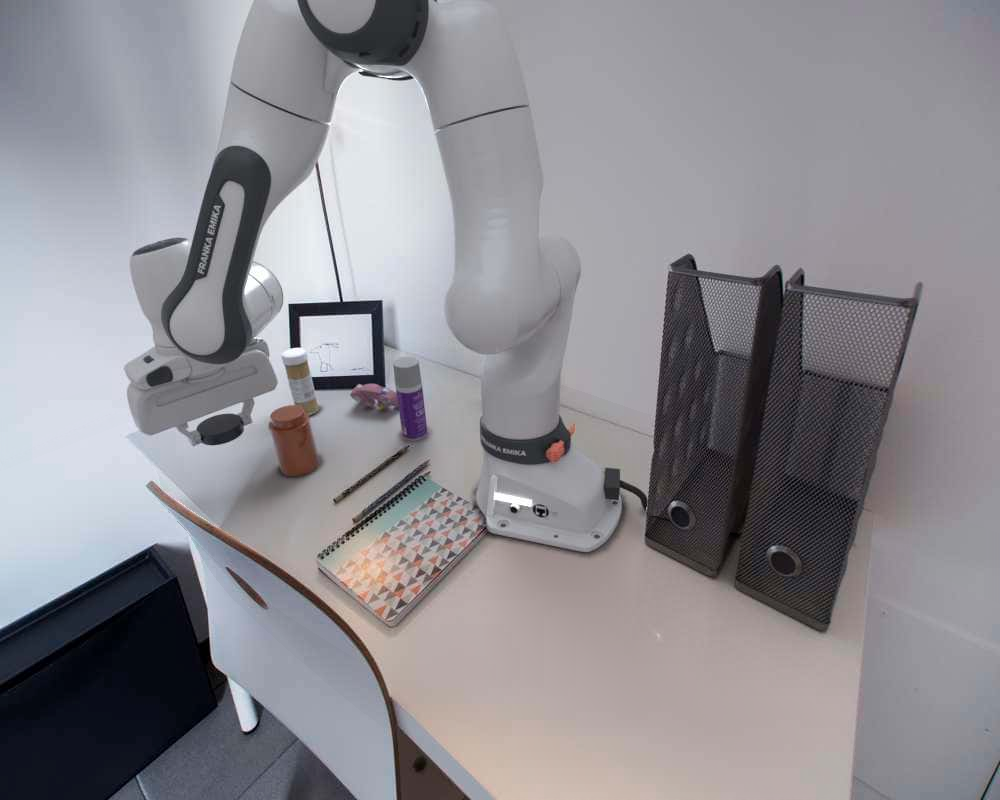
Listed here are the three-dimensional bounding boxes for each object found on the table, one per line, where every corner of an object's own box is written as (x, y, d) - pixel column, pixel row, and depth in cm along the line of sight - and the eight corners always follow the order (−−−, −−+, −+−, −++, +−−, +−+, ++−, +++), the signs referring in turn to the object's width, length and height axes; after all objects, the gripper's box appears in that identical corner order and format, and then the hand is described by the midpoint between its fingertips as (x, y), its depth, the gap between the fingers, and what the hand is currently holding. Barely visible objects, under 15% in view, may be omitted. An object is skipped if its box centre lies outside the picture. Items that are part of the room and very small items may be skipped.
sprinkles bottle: (314, 403, 111) (300, 344, 104) (322, 412, 108) (309, 351, 101) (292, 411, 108) (277, 351, 102) (300, 420, 105) (285, 358, 99)
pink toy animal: (356, 412, 110) (343, 392, 105) (365, 394, 113) (352, 374, 107) (399, 418, 108) (388, 398, 102) (407, 400, 110) (396, 380, 105)
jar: (327, 460, 93) (315, 408, 88) (299, 480, 88) (285, 426, 83) (301, 451, 96) (288, 400, 91) (273, 470, 91) (257, 417, 86)
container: (422, 442, 97) (414, 368, 90) (398, 439, 98) (388, 367, 91) (430, 428, 101) (422, 357, 94) (407, 426, 102) (397, 355, 95)
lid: (198, 430, 85) (194, 420, 84) (241, 419, 88) (237, 409, 87) (201, 450, 80) (198, 439, 79) (247, 437, 83) (243, 426, 82)
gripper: (255, 328, 86) (275, 402, 92) (110, 370, 73) (145, 452, 80) (273, 338, 82) (292, 414, 88) (123, 384, 69) (159, 469, 76)
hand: (221, 433), depth 84 cm, fingers closed on lid, 6 cm apart
